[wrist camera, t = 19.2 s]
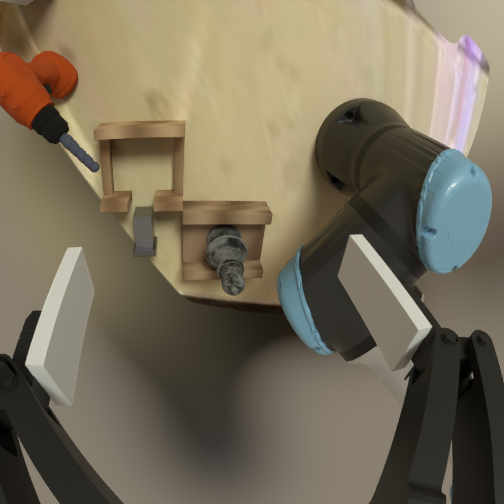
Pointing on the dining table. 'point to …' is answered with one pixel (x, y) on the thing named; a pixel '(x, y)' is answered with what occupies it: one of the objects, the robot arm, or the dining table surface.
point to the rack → (216, 213)
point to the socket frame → (140, 129)
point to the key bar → (144, 232)
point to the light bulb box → (18, 1)
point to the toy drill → (40, 97)
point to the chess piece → (227, 256)
